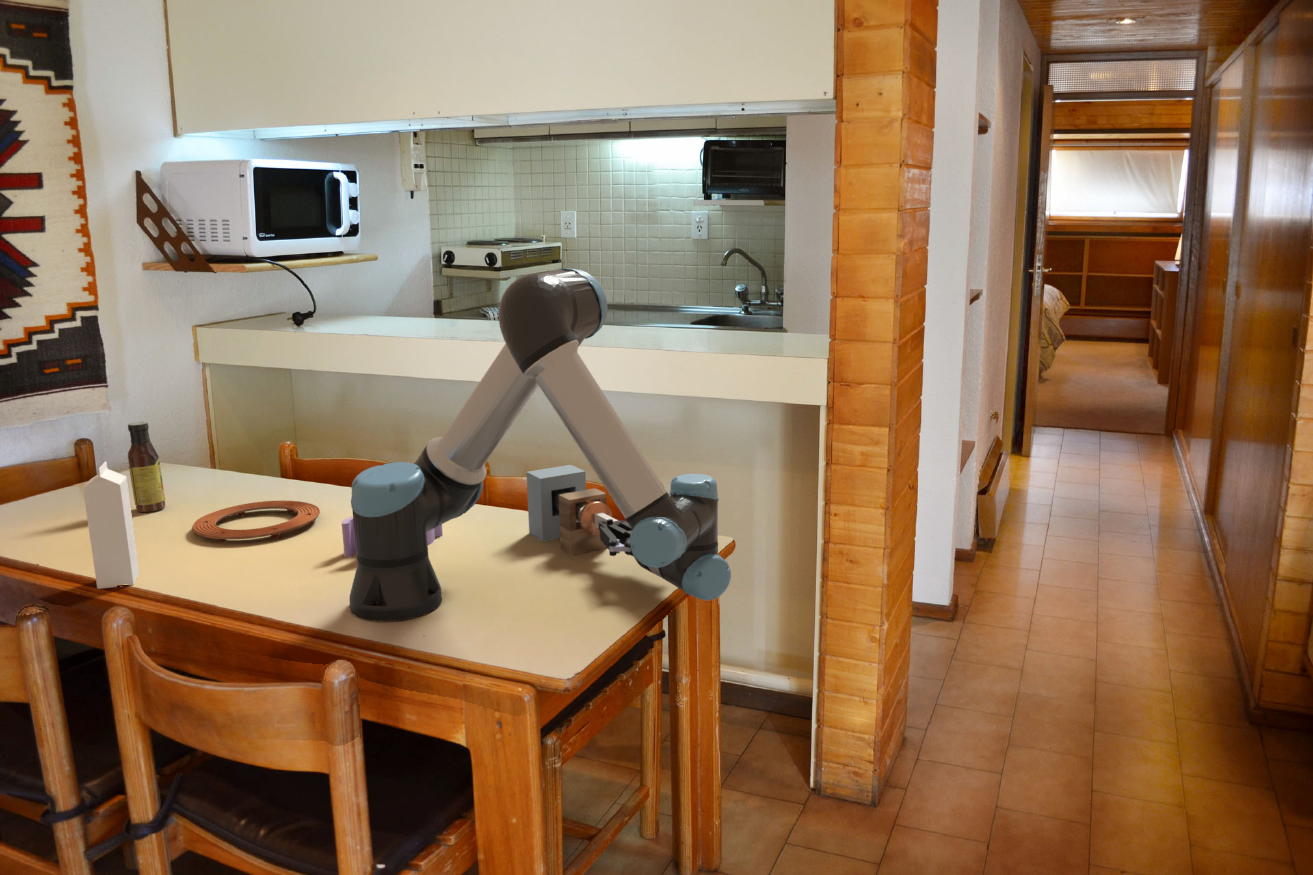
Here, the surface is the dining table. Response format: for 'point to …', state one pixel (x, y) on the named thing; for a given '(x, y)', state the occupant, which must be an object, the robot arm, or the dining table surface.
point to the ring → (211, 530)
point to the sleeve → (570, 530)
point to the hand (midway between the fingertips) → (598, 519)
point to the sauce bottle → (145, 470)
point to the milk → (111, 529)
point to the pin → (584, 512)
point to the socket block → (550, 498)
